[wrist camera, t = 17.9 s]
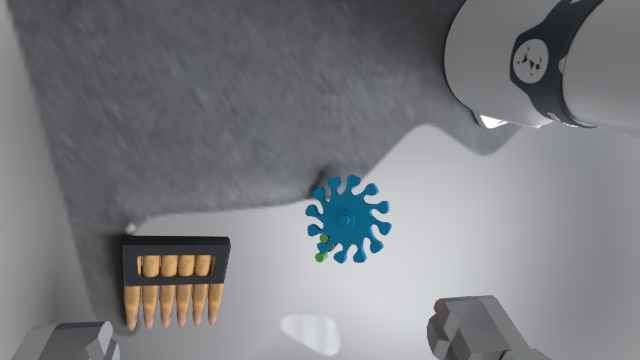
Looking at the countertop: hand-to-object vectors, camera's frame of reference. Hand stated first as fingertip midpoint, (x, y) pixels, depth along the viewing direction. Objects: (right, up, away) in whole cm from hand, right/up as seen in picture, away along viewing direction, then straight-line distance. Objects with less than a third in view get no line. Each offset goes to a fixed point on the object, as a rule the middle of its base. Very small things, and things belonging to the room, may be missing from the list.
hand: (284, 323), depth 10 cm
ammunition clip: (-14, -3, +31) cm, 34 cm away
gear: (+3, 0, +37) cm, 37 cm away
